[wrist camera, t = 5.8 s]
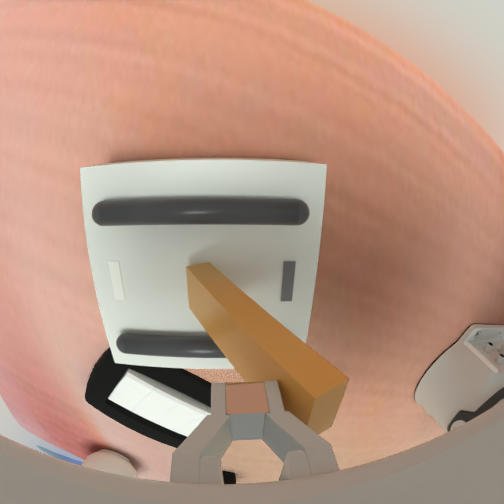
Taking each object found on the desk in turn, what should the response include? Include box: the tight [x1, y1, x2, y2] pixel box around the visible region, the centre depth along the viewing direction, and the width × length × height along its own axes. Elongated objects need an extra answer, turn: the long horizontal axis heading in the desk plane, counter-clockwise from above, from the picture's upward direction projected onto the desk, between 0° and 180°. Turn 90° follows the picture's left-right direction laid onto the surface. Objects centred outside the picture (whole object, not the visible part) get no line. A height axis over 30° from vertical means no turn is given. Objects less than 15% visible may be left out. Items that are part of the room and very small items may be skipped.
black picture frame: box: [85, 348, 212, 448], centre depth 29 cm, size 20×3×14 cm
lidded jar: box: [81, 449, 138, 478], centre depth 31 cm, size 11×11×9 cm
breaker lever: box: [186, 262, 349, 434], centre depth 14 cm, size 2×3×12 cm, turn 178°
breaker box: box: [80, 158, 327, 369], centre depth 21 cm, size 16×16×7 cm
